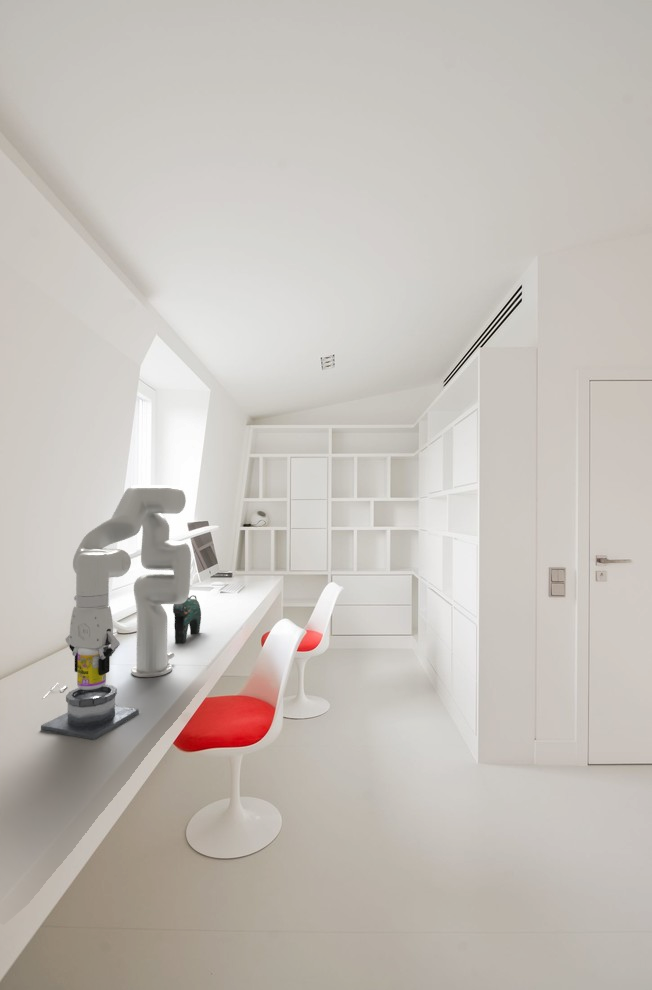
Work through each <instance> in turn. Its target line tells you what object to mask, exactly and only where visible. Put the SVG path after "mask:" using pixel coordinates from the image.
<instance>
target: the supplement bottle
mask: <svg viewBox="0 0 652 990" xmlns="http://www.w3.org/2000/svg"><path fill="white" fill-rule="evenodd" d="M103 649H104V652H105V648H103ZM99 659H101V657H100V654H99V652H98V649H88V648H79V649H78V665H77V666H78V670H77V672H76V673H77V678H76V683H77V685H76V686H77V688H79V689H82V690H93V689H97V688H100V687H102V686H104V685H106V684H107V673H105V674H103V675H99V674H98V667H99Z"/></svg>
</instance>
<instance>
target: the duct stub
mask: <svg viewBox="0 0 652 990" xmlns="http://www.w3.org/2000/svg"><path fill="white" fill-rule="evenodd" d="M117 694H118V689H117V688H116V687H115V686H114V685H112V684H105V685H104V686H102V687H100V688H97V689H93V690H82V689H79V688H78V687H77V688H75V689H73V690H70V691H69V692H68V693H67V694H66V695H65V701H66V703H67V712H65V713H64V714H61V715H59V716H57V717H56V718H54V719H52V720H49V721H46V723H43V724H41V725H40V731H41V732H49V733H52V734H60V735H64V736H69V737H70V736H71V737H77V738H83V739H88V740H92V741H95V740H97V739H98V738H100V737H102V736H105V734H107V733H109V732H111V731H112V730H114V729H115V728H118V725H119V726H120V725H122V724H123V722H124V723H126V722H127V721H128V719H129V720H130V718H131V719H132V718H134V717H136V716H138V715H139V714H140V713H139V712H140V711H139V710H140V709H139V708H135V707H134V708H133V707H127V706H121V705H120V706H119V705H116V696H117ZM135 715H136V716H135ZM133 716H134V717H133ZM126 720H127V721H126ZM125 721H126V722H125ZM113 728H114V729H113Z"/></svg>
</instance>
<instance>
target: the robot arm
mask: <svg viewBox="0 0 652 990" xmlns="http://www.w3.org/2000/svg"><path fill="white" fill-rule="evenodd" d="M186 501H187V499H186V495H185V492H184V491H183V489H181V488H180V487H176V486H169V485H160V484H159V485H158V484H157V485H156V484H155V485H153V484H152V485H151V484H150V485H143V484H142V485H141V484H140V485H132V486H130V487H128V488H127V489H125V492H124V493H123V495H122V497H121V499H120V501H119V502H118V505H117V506H116V509H115V510H114V512H113V514H112V516H111V518H110V519H108V520H106V521H104V522H102V523H101V524H99V525H98V526H96V527H95V528H93V529H92V530H90V531H89V532H88V533H87V534H85V536H84V537H83V538H82V540H81V542H80V544H79V545H78V547H77V549H76V551H75V553H74V556H73V559H72V568H73V571H74V573H75V574H76V575H75V576H76V582H75V584H76V588H75V589H76V593H75V596H74V597H73V599H74V601H75V605H76V606H74V607H73V609H72V613H71V618H70V624H69V625H70V626H69V634H68V636H66V637H65V641H66V643H67V645H68V646H69V647H68V648H69V649H70V651H71V654H72V656H73V657H74V673H77V670H78V666H77V665H78V649H79V648H88V649H98V652H99V654H100V657H101V659H99V667H98V674H99V675H103V674H105V673H106V674H107V673H109V672H110V661H111V660H110V659H111V657H112V655H113V654H114V653H115V651H116V650H117V649H118V647H120V644H121V643H120V642H119V640H118V639H117V637H115V636H114V625H113V616H112V609H111V606H110V605H109V592H110V591H109V588H110V587H109V585H110V583H109V582H110V581H109V579H110V578H118V577H123V576H124V575H125V574H127V573H128V571H129V570H130V567H131V564H132V563H131V562H132V561H131V556H130V554H129V553H128V552H127V551H126V550H124V549H119V548H105V547H107V546H110V545H111V544H115V543H118V542H122V541H125V540H128V539H130V538H133V537H134V536H136V535H138V533H140V530H141V529H142V538H141V549H140V550H141V552H140V553H141V554H140V562H141V565H142V567H143V568H144V569H145V570H149V571H172V572H173V574H167V573H165V574H164V573H161V574H160V573H159V574H157V573H149V574H143V575H140V576H139V577H137V578H136V579H135V581H134V584H133V595H134V601H135V606H136V607H135V608H136V665H135V666H133V667H132V668H131V675H133V676H134V677H137V678H138V677H139V678H154V677H160V676H164V675H167V674H169V673H170V672H171V671H172V669H173V665H172V664H170V663H169V660H172V659H173V658H174V657H175V654H174V652H169V653H168V615H167V612H166V610H165V608H164V607H163V606H162V605H174V604H182V603H184V602H185V601H186V600H187V599H188V597H189V595H190V589H191V588H190V587H191V586H190V585H191V565H192V554H191V553H192V552H191V549H190V546H189V545H188V544H187V543H186V542H184V541H175V540H174V541H173V540H171V541H170V525H169V523H168V521H167V519H166V518H165V517H164V515H163V514H166V515H167V514H169V515H170V514H172V515H173V514H174V515H175V514H180V513H182V512H183V510H185V509H184V508H185V506H186ZM103 648H105V652H104V649H103Z"/></svg>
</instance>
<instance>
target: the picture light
mask: <svg viewBox="0 0 652 990" xmlns="http://www.w3.org/2000/svg"><path fill="white" fill-rule="evenodd" d="M56 687H58V689H59V692H60V693H64V691H65V689H66V688H68V685H64V686H63V687H62V686H61V685H59V682H56V683H55V684H54V685H52V686H51V687H50V689H49V691H48V692H47V693H46V694H45V695H44V696H43V697H42V698H45V697H46V698H47V697H48V695H49V694H50V693H51V692H52V691H53V690H54V689H55V688H56ZM46 698H45V699H46Z"/></svg>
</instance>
